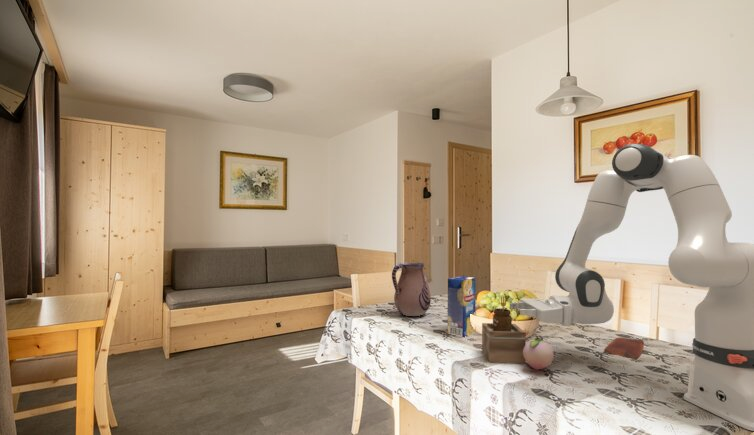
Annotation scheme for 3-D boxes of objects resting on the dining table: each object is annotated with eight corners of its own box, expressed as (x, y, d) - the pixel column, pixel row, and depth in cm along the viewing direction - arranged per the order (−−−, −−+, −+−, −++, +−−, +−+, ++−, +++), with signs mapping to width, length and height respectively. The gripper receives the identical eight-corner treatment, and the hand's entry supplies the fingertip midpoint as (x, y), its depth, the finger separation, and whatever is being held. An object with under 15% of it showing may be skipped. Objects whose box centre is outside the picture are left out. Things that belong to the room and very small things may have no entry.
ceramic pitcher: (437, 315, 181) (438, 263, 181) (410, 323, 165) (411, 266, 166) (409, 309, 193) (409, 261, 193) (381, 316, 177) (382, 263, 178)
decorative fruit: (552, 378, 105) (552, 342, 105) (521, 372, 109) (521, 338, 109) (554, 367, 113) (554, 334, 113) (526, 362, 117) (525, 330, 117)
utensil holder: (509, 329, 126) (509, 293, 127) (513, 334, 120) (513, 297, 120) (491, 328, 127) (491, 293, 128) (494, 333, 121) (494, 296, 121)
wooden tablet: (638, 362, 121) (638, 356, 121) (602, 354, 127) (602, 349, 127) (647, 343, 141) (647, 338, 141) (616, 337, 147) (616, 333, 147)
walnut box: (525, 363, 116) (525, 332, 117) (489, 362, 117) (489, 331, 117) (514, 351, 127) (514, 323, 128) (482, 350, 128) (482, 323, 128)
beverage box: (475, 331, 152) (475, 277, 153) (463, 337, 143) (463, 280, 144) (460, 328, 156) (460, 276, 157) (447, 334, 148) (447, 278, 148)
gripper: (545, 294, 132) (505, 293, 133) (572, 306, 111) (524, 305, 112) (545, 312, 132) (505, 311, 132) (572, 327, 111) (525, 326, 112)
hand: (514, 308), depth 122 cm, fingers open, 8 cm apart
